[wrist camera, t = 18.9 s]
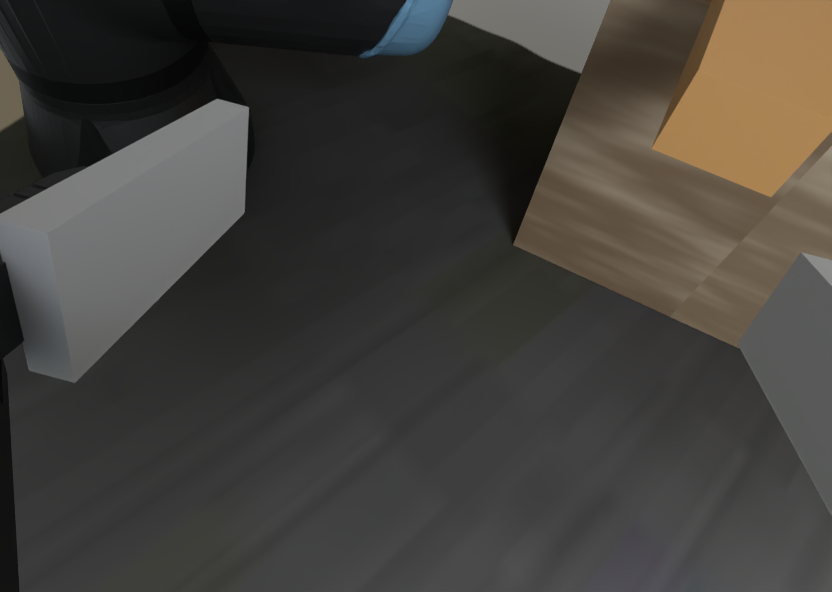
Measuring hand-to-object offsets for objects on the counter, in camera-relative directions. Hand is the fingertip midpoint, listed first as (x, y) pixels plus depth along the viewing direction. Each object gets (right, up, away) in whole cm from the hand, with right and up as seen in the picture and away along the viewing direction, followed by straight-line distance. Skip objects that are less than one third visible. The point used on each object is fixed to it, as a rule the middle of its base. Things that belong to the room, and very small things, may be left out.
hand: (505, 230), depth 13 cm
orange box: (+13, +12, +12) cm, 21 cm away
